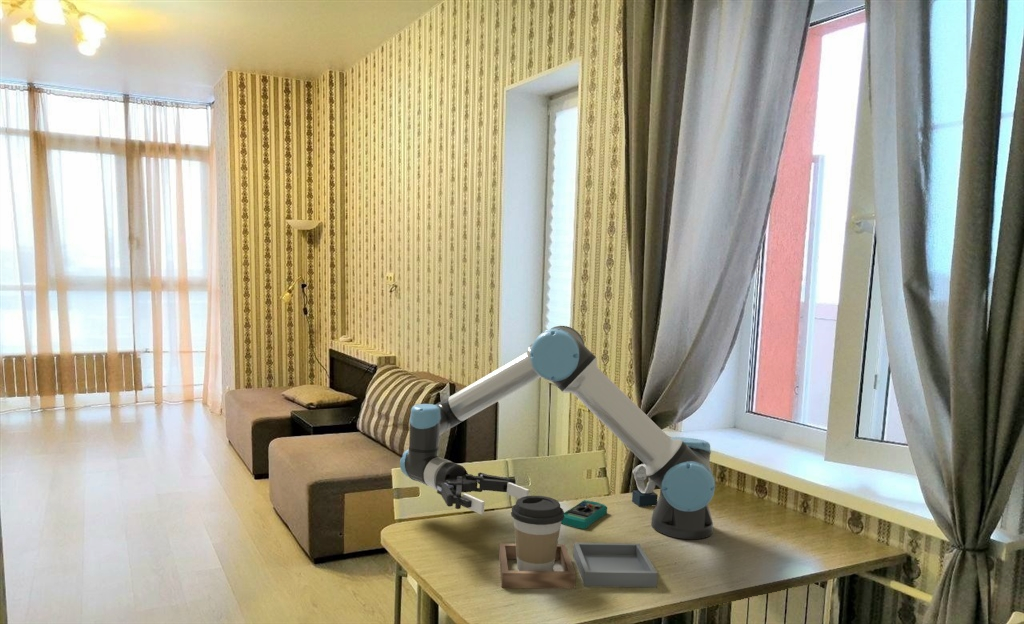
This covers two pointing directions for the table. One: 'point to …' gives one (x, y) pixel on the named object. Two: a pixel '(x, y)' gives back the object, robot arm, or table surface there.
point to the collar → (536, 577)
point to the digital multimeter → (584, 514)
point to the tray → (614, 565)
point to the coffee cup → (536, 532)
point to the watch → (643, 488)
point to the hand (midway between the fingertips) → (506, 501)
